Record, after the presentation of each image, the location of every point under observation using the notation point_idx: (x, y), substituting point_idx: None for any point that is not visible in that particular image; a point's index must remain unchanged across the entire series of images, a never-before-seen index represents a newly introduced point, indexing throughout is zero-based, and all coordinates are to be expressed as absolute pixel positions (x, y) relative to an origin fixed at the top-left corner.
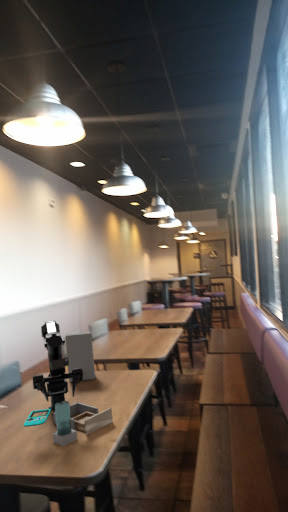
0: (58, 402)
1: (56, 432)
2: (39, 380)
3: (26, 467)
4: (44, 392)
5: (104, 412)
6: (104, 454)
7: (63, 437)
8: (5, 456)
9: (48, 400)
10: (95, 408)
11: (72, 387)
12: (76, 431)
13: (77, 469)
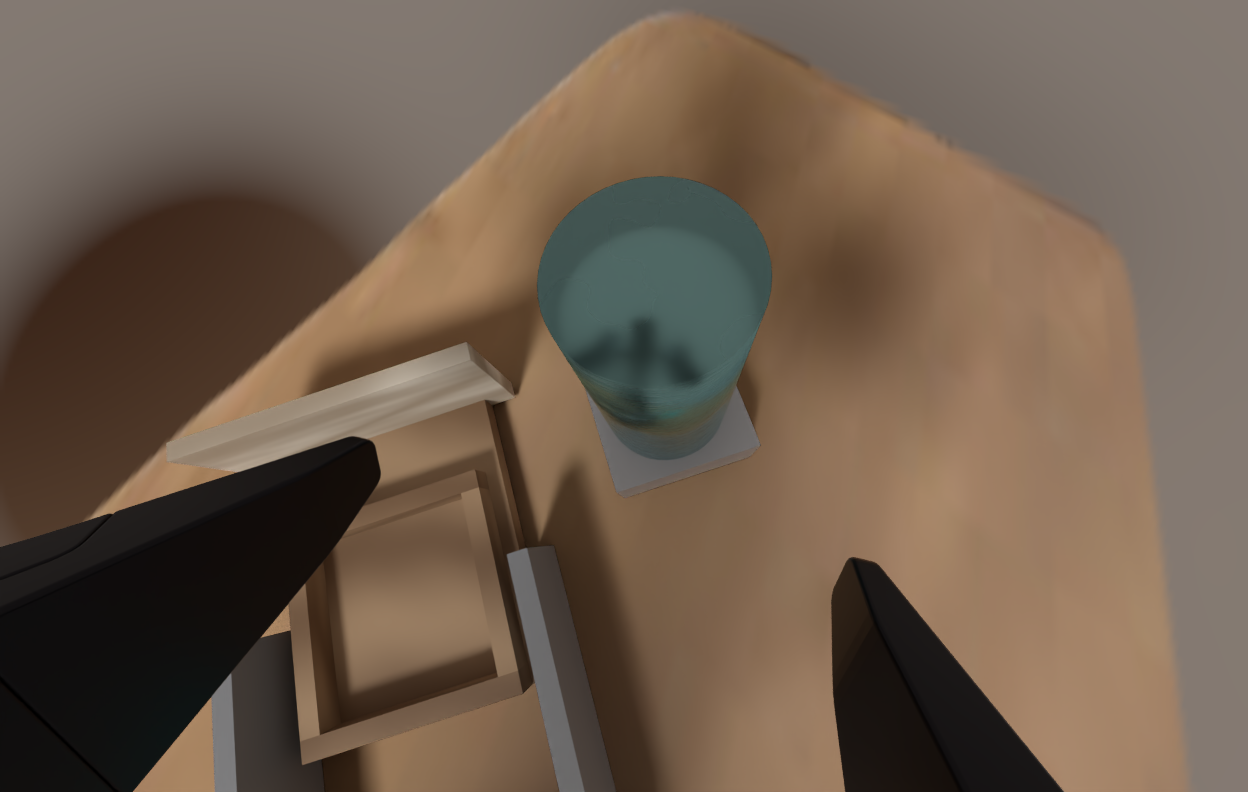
0: (679, 378)
1: (724, 442)
2: None
3: (977, 232)
4: (1040, 780)
5: (262, 415)
6: (543, 121)
7: None
8: (1144, 480)
9: (847, 562)
10: None
11: (198, 517)
12: None
13: (712, 71)
